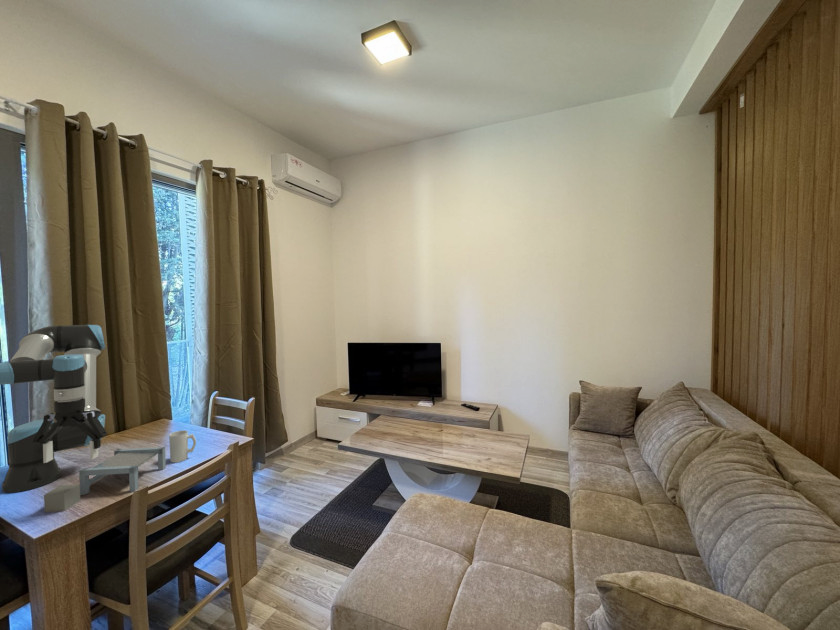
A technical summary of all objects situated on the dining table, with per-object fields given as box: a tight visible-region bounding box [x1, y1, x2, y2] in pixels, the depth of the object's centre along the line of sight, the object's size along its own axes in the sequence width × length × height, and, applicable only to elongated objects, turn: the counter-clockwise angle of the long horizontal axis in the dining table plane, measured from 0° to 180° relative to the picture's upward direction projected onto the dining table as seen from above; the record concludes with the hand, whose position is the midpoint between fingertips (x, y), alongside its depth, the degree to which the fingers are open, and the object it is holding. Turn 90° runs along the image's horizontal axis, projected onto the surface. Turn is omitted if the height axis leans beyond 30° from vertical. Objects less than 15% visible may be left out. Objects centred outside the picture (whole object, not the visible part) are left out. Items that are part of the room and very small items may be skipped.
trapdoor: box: [92, 452, 157, 468], centre depth 132 cm, size 14×14×1 cm
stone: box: [43, 483, 81, 513], centre depth 116 cm, size 6×6×6 cm
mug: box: [168, 430, 197, 463], centre depth 151 cm, size 10×7×12 cm, turn 109°
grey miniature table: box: [78, 446, 166, 496], centre depth 133 cm, size 18×18×9 cm
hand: (71, 459), depth 117 cm, fingers open, 13 cm apart
